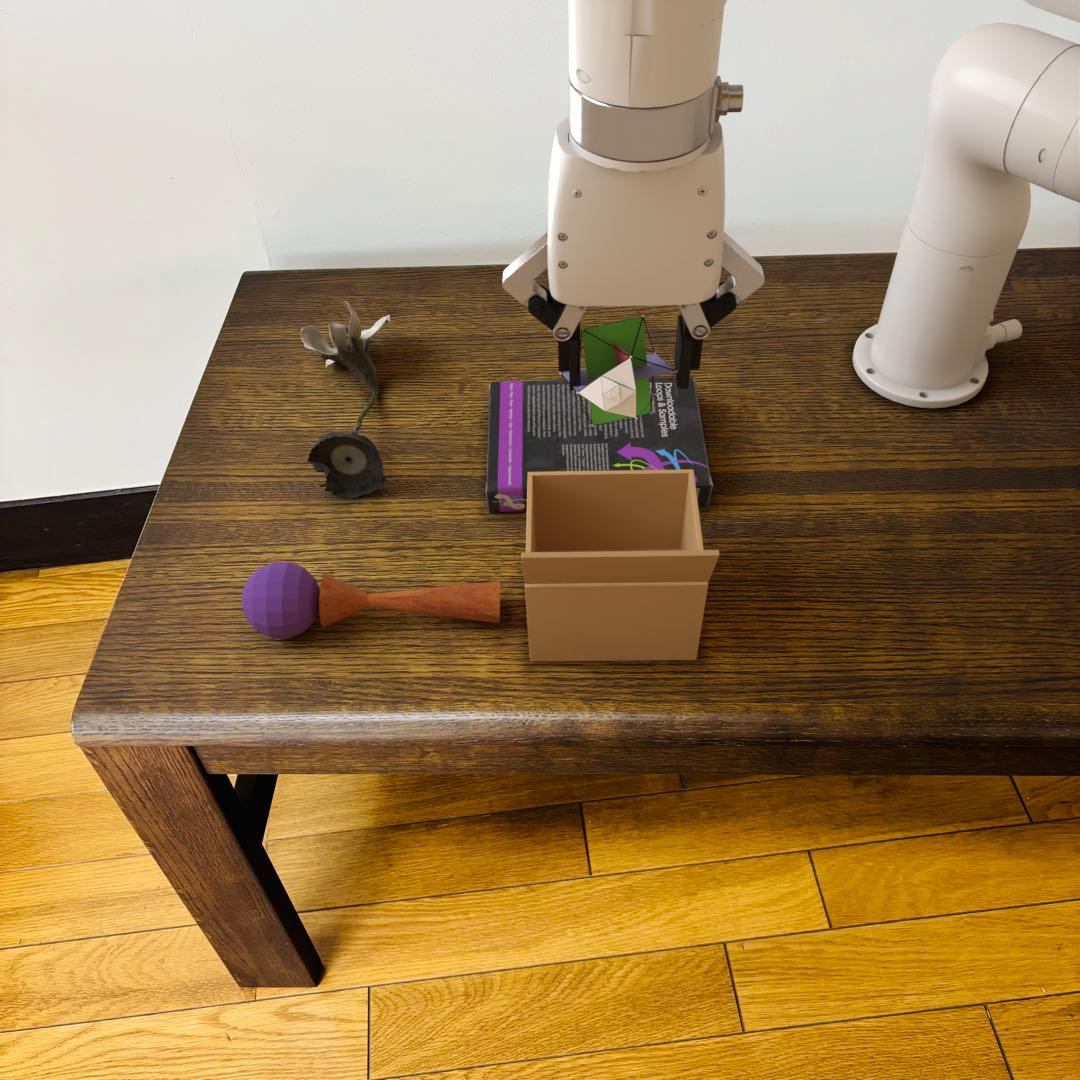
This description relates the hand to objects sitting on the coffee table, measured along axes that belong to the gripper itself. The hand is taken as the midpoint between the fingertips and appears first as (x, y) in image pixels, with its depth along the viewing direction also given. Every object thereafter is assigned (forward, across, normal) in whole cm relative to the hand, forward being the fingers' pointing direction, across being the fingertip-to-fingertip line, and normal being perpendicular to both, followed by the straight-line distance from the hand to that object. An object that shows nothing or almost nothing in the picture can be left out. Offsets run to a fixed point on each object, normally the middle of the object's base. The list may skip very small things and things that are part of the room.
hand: (627, 374), depth 66 cm
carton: (+22, +1, +2) cm, 22 cm away
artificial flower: (+22, +25, -20) cm, 39 cm away
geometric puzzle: (+3, +1, 0) cm, 3 cm away
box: (+22, +2, -14) cm, 26 cm away
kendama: (+22, +19, +4) cm, 30 cm away
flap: (+9, +1, +9) cm, 13 cm away
